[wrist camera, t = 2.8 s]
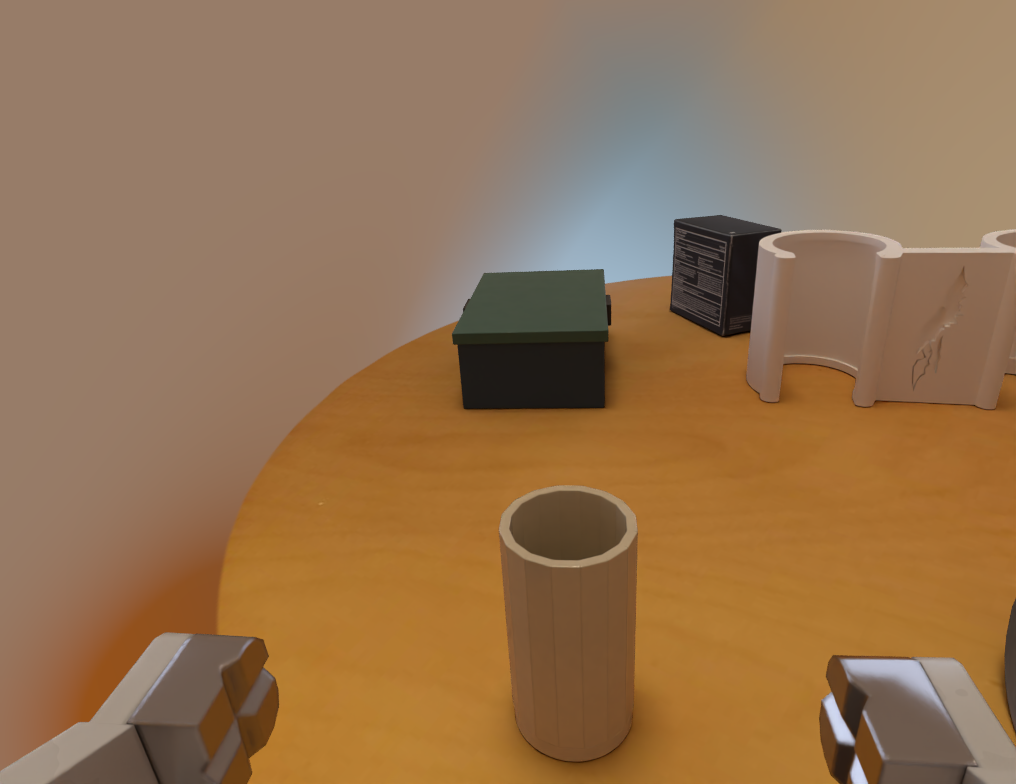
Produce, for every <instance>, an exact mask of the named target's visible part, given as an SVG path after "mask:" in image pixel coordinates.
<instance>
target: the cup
mask: <svg viewBox="0 0 1016 784" xmlns="http://www.w3.org/2000/svg"><path fill="white" fill-rule="evenodd" d="M499 538H500V551H501V563H502V575H503V587H504V600H505V612H506V624H507V636H508V648H509V661H510V673H511V685H512V697H513V704H514V710H515V718H516V722H517V725H518V727H519V730H520V732H521V733H522V735H523V736H524V738H525V739H526V740H527V741H528V742H529V743H530V744H531V745H532V746H533V747H534V748H535V749H537V750H538V751H540V752H541V753H543V754H545V755H547V756H550V757H552V758H555V759H559V760H563V761H571V762H581V761H589V760H593V759H596V758H599V757H602V756H604V755H606V754H608V753H609V752H611V751H612V750H614V749H615V748H616V747H617V746H618V745H619V744H620V743H621V742H622V741H623V740H624V738H625V737H626V736H627V734H628V732H629V730H630V727H631V724H632V718H633V707H634V671H635V627H636V583H637V539H638V530H637V521H636V516H635V514H634V513H633V512H632V511H631V509H630V508H629V507H628V506H627V504H626V503H625V502H624V501H622V500H621V499H619V498H617V497H615V496H613V495H611V494H610V493H608V492H605V491H602V490H598V489H594V488H590V487H585V486H553V487H548V488H543V489H539V490H534V491H532V492H530V493H528V494H526V495H524V496H522V497H520V498H518V499H516V500H515V501H513V503H512V504H511V505H510V506H509V507H508V508H507V509H506V510H505V511H504V512H503V514H502V516H501V521H500V526H499Z"/></svg>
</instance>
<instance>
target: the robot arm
mask: <svg viewBox="0 0 1016 784" xmlns="http://www.w3.org/2000/svg"><path fill="white" fill-rule="evenodd" d="M268 657H269V655H268V652H267V649H266V646H265V643H264V640H263V639H259V638H256V637H243V636H226V635H209V634H181V633H164V634H162V635H160V636H158V637H157V638H155V639H154V640H153V641H152V643H151V644H150V645H149V646H148V648H147V649H146V650H145V652H144V653H143V654H142V655H141V657H140V658H139V659H138V661H137V662H136V663H135V664H134V666H133V667H132V668H131V670H130V671H129V672H128V673H127V675H126V676H125V677H124V679H123V680H122V681H121V682H120V684H119V685H118V686H117V688H116V689H115V690H114V691H113V692H112V694H111V695H110V696H109V698H108V699H107V700H106V702H105V703H104V704H103V705H102V707H101V708H100V709H99V710H98V712H97V713H96V714H95V716H94V717H93V718H92V719H91V721H90V722H79V723H77V724H76V725H74V726H72V727H71V728H69V729H68V730H66V731H64V732H63V733H61V734H59V735H58V736H56V737H55V738H53V739H51V740H50V741H48V742H47V743H45V744H43V745H42V746H40V747H39V748H37V749H35V750H34V751H32V752H31V753H29V754H27V755H26V756H24V757H22V758H21V759H19V760H18V761H16V762H14V763H13V764H11V765H10V766H8V767H6V768H5V769H3V770H2V771H0V784H247V783H248V781H249V779H250V777H251V775H252V769H251V765H250V760H249V758H250V757H251V756H253V755H254V754H255V753H256V752H258V751H259V750H260V749H261V748H263V747H264V746H265V745H266V744H267V742H268V739H269V737H270V735H271V733H272V731H273V729H274V726H275V721H276V717H277V712H278V708H279V693H278V687H277V683H276V679H275V678H274V677H273V676H272V675H271V674H270V673H269V672H268V671H267V670H266V669H264V668H263V666H264V664H265V662H266V660H267V659H268ZM826 678H827V680H828V683H829V686H830V688H831V691H832V692H831V693H830V694H828V695H827V696H826V697H825V698H824V699H822V701H821V709H820V717H819V722H820V736H821V743H822V748H823V752H824V757H825V760H826V763H827V766H828V769H829V772H830V775H831V776H832V777H833V778H834V779H835V780H836V781H838V782H839V783H840V784H1016V747H1015V746H1014V744H1013V743H1012V741H1011V740H1010V738H1009V737H1008V735H1007V733H1006V732H1005V730H1004V729H1003V727H1002V726H1001V724H1000V723H999V721H998V719H997V718H996V716H995V715H994V713H993V712H992V710H991V709H990V707H989V706H988V704H987V702H986V701H985V699H984V698H983V696H982V695H981V693H980V692H979V690H978V689H977V687H976V685H975V684H974V682H973V681H972V679H971V678H970V676H969V675H968V673H967V672H966V670H965V668H964V667H963V665H962V664H961V663H960V662H958V661H957V660H956V659H954V658H935V657H912V658H909V657H892V656H846V655H833V656H832V657H831V659H830V661H829V662H828V667H827V672H826Z"/></svg>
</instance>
